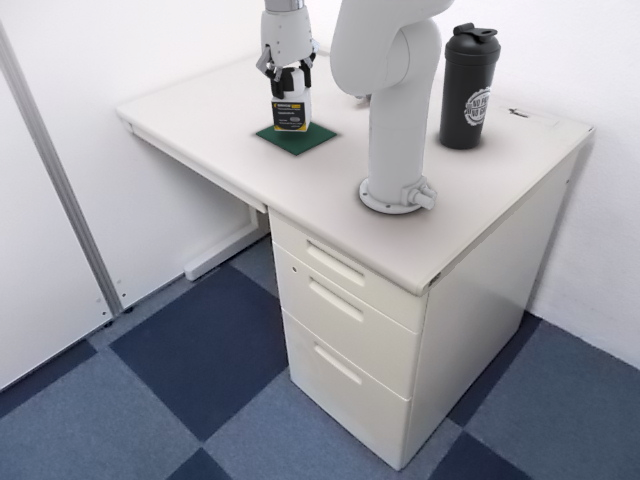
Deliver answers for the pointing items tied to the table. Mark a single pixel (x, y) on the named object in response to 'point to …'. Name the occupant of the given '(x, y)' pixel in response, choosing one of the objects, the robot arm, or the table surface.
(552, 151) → the table surface
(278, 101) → the medicine bottle
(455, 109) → the water bottle
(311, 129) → the cutting mat
